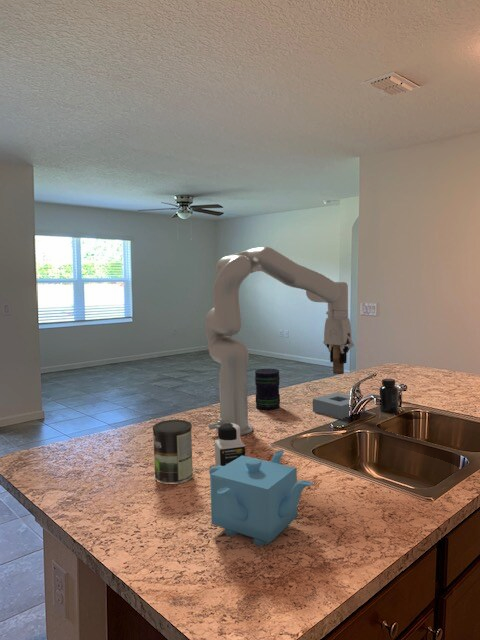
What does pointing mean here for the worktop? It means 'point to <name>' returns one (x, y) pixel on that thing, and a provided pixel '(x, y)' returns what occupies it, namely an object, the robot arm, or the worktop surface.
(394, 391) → the supplement bottle
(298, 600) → the worktop surface
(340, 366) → the peg
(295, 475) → the teakettle
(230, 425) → the medicine bottle
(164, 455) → the coffee can
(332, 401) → the socket
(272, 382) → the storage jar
